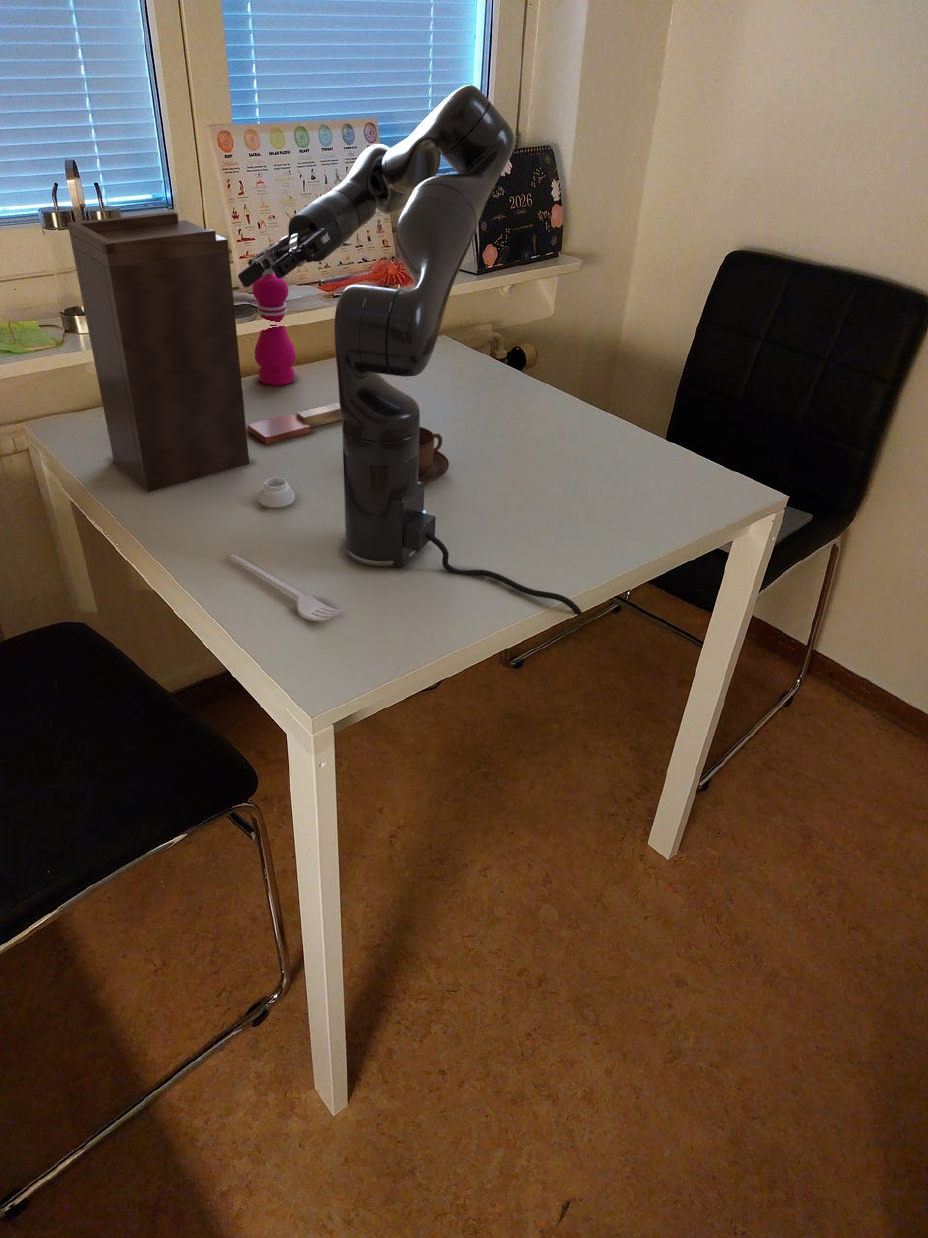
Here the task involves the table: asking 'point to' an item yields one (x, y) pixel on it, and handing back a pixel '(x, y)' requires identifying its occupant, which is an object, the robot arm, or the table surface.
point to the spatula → (294, 423)
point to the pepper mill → (273, 332)
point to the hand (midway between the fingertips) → (258, 276)
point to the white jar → (276, 493)
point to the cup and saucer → (430, 457)
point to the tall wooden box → (163, 345)
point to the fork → (293, 594)
